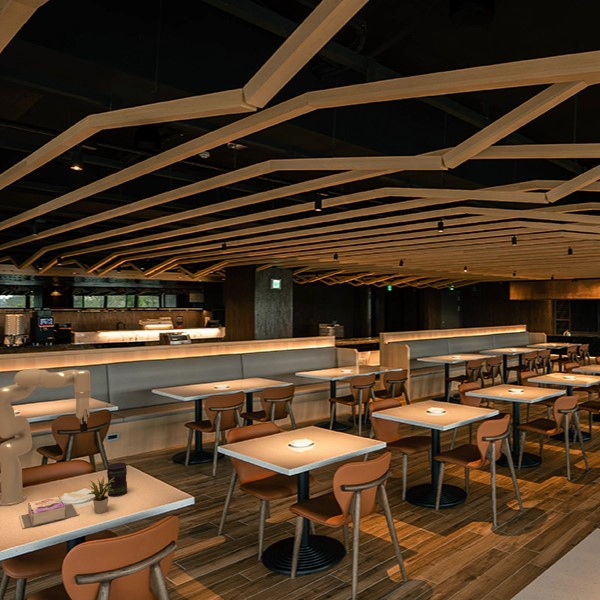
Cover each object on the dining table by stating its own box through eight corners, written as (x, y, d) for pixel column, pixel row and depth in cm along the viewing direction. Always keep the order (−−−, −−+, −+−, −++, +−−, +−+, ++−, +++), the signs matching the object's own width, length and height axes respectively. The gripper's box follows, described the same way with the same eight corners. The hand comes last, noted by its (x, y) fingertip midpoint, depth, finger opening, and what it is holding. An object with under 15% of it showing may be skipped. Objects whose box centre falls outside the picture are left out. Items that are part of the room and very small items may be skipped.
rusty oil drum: (130, 490, 272) (129, 462, 272) (122, 497, 262) (121, 468, 262) (112, 490, 272) (112, 462, 273) (104, 497, 263) (103, 468, 263)
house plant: (120, 513, 241) (119, 479, 241) (89, 520, 234) (88, 485, 234) (115, 503, 253) (114, 471, 254) (85, 509, 247) (84, 476, 247)
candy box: (32, 513, 228) (27, 502, 242) (32, 526, 228) (27, 514, 242) (65, 505, 236) (58, 495, 250) (65, 518, 236) (59, 507, 250)
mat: (19, 516, 241) (19, 515, 241) (73, 504, 254) (73, 503, 254) (22, 529, 227) (22, 528, 227) (79, 515, 240) (79, 514, 240)
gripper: (72, 394, 257) (72, 429, 257) (77, 398, 245) (78, 435, 244) (87, 392, 261) (88, 427, 261) (93, 396, 249) (94, 433, 249)
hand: (83, 431), depth 253 cm, fingers closed
